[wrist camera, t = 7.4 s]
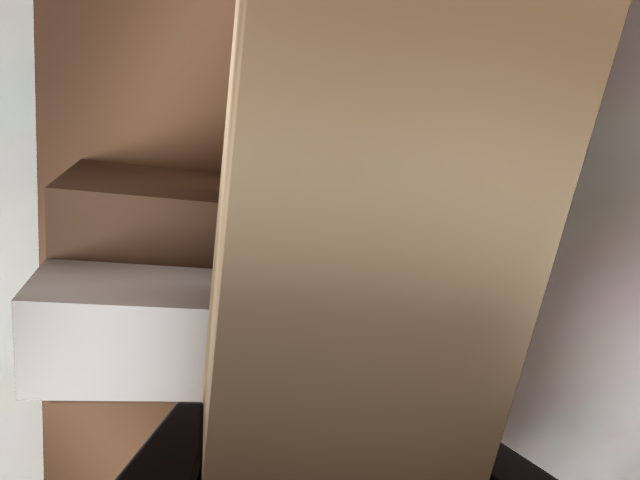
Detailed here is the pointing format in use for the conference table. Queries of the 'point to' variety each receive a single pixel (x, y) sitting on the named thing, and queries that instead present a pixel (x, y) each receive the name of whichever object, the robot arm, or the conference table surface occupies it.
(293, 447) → the beech stick
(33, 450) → the conference table surface
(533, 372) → the conference table surface
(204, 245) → the balance stand
